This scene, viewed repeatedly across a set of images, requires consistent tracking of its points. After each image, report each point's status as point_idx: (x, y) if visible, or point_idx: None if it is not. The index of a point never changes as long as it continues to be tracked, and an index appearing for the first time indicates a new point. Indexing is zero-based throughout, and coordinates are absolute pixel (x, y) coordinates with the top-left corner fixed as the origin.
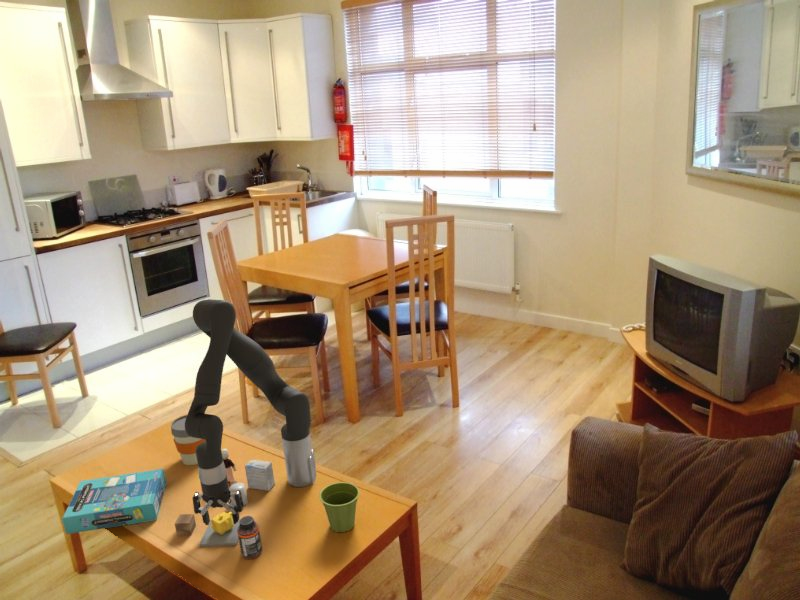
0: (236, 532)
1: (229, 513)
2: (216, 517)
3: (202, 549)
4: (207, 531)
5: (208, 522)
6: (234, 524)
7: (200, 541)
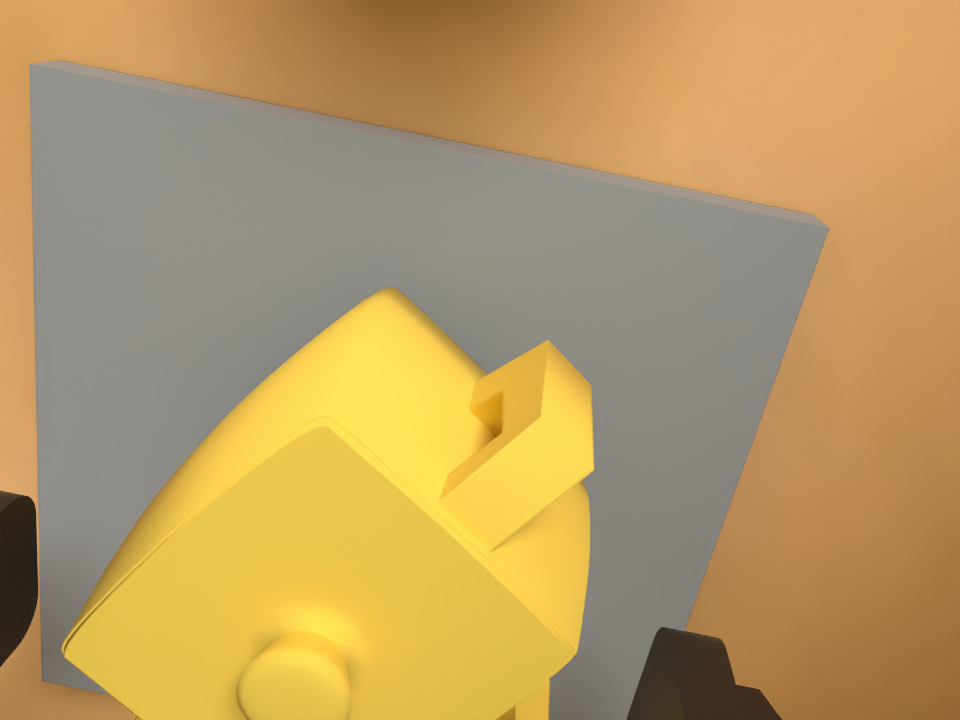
0: (625, 579)
1: (508, 504)
2: (168, 620)
3: (128, 712)
4: (78, 418)
5: (13, 595)
6: (580, 348)
7: (41, 629)
